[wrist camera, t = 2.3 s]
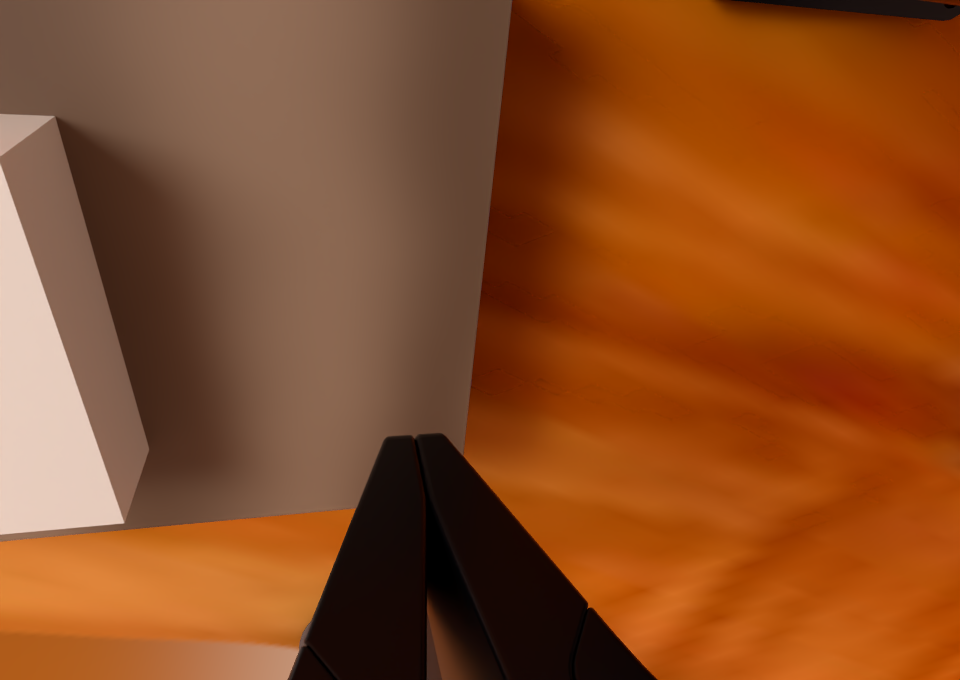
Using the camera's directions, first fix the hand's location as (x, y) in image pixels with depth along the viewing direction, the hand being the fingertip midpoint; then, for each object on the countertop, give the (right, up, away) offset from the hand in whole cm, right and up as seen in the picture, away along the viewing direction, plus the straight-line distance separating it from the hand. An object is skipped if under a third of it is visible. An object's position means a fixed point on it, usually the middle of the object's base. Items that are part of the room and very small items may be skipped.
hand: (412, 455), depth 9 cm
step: (-6, +4, +5) cm, 9 cm away
